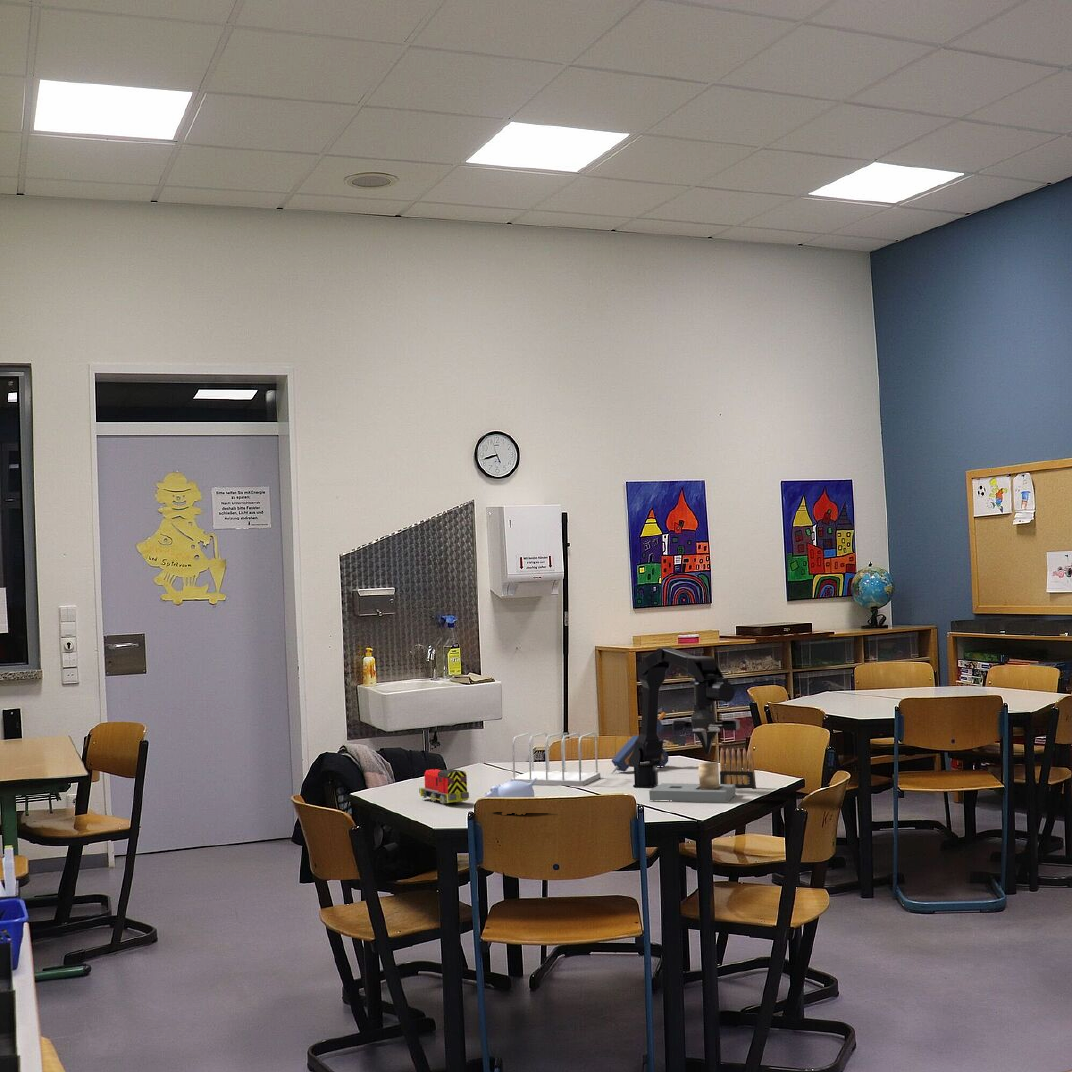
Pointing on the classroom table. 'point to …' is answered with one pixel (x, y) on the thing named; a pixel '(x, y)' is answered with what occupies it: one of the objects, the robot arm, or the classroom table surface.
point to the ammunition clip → (737, 769)
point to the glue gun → (625, 753)
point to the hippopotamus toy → (512, 789)
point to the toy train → (445, 785)
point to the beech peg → (709, 776)
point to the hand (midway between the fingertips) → (707, 754)
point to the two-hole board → (692, 793)
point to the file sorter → (556, 776)
